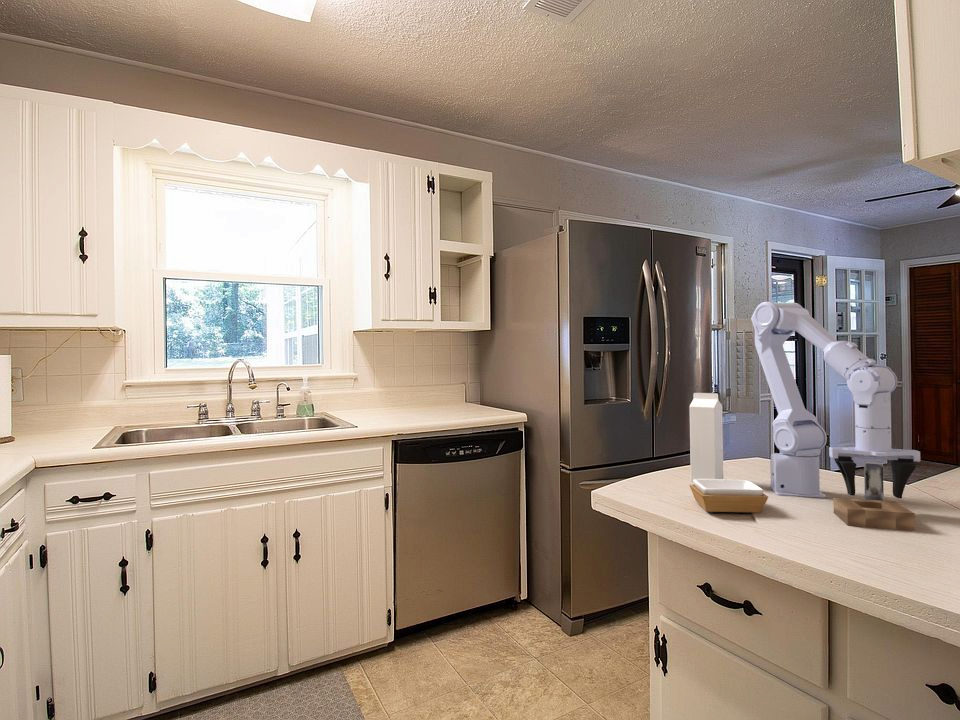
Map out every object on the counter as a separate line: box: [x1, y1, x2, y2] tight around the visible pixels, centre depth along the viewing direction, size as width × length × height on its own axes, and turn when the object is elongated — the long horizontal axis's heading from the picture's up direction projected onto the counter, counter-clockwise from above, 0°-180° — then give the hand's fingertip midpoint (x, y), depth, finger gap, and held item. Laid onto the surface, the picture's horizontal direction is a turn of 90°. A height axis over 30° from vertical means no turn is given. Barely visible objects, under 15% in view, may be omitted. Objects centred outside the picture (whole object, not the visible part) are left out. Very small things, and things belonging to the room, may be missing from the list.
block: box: [833, 497, 916, 531], centre depth 96 cm, size 10×8×3 cm
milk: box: [689, 392, 724, 483], centre depth 129 cm, size 6×6×22 cm
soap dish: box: [688, 478, 769, 514], centre depth 107 cm, size 12×10×5 cm
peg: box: [863, 461, 885, 501], centre depth 103 cm, size 3×3×9 cm
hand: (874, 495), depth 103 cm, fingers open, 7 cm apart
